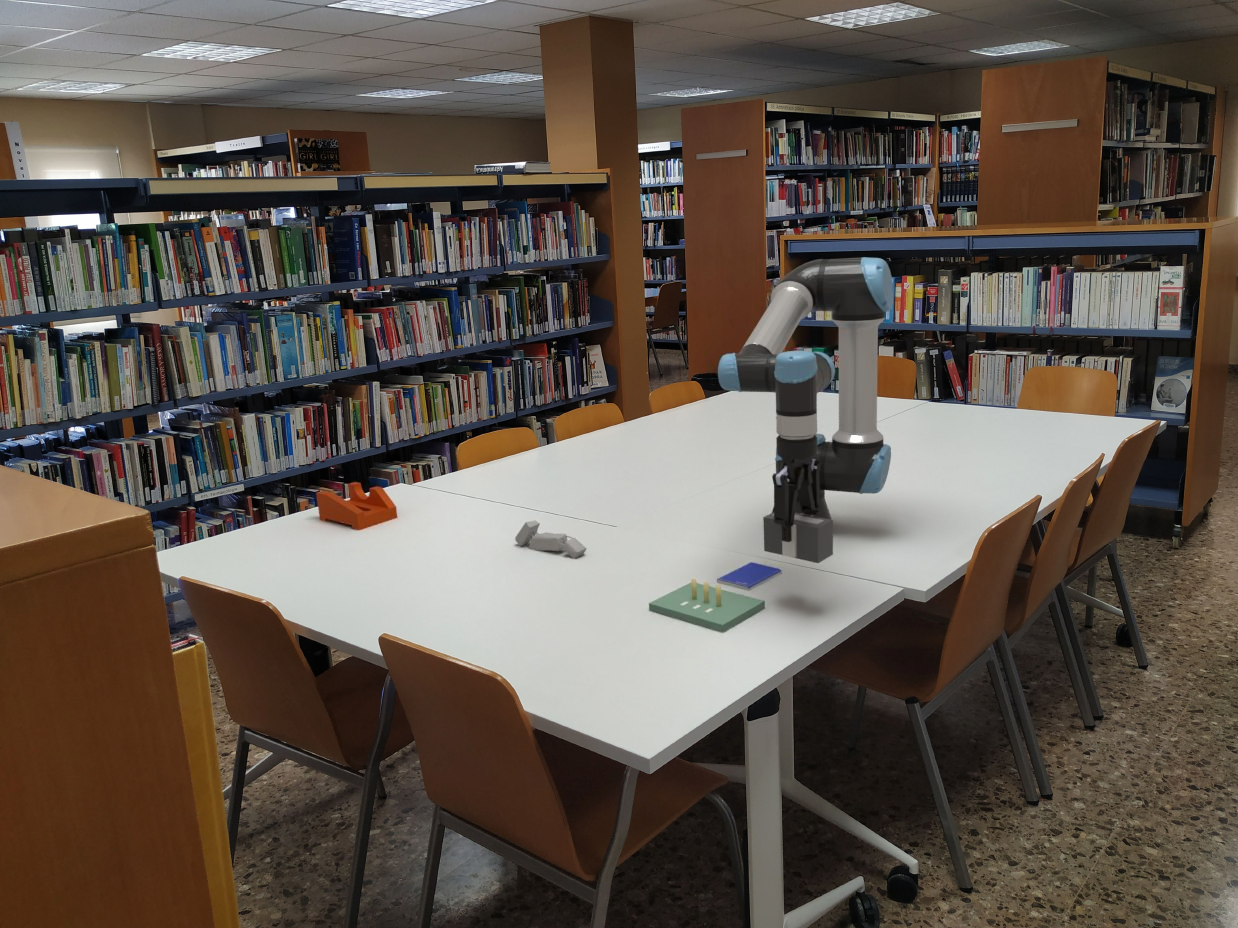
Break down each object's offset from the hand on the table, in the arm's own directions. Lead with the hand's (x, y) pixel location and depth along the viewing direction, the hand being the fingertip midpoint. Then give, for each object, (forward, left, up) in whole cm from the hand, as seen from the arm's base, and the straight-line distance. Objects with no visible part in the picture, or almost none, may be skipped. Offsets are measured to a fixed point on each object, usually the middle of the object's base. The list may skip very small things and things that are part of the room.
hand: (798, 551), depth 180 cm
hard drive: (-7, -17, -12) cm, 22 cm away
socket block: (0, 0, 0) cm, 0 cm away
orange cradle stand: (+16, -130, -12) cm, 132 cm away
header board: (+11, -14, -12) cm, 21 cm away
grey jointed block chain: (+4, -66, -12) cm, 67 cm away
